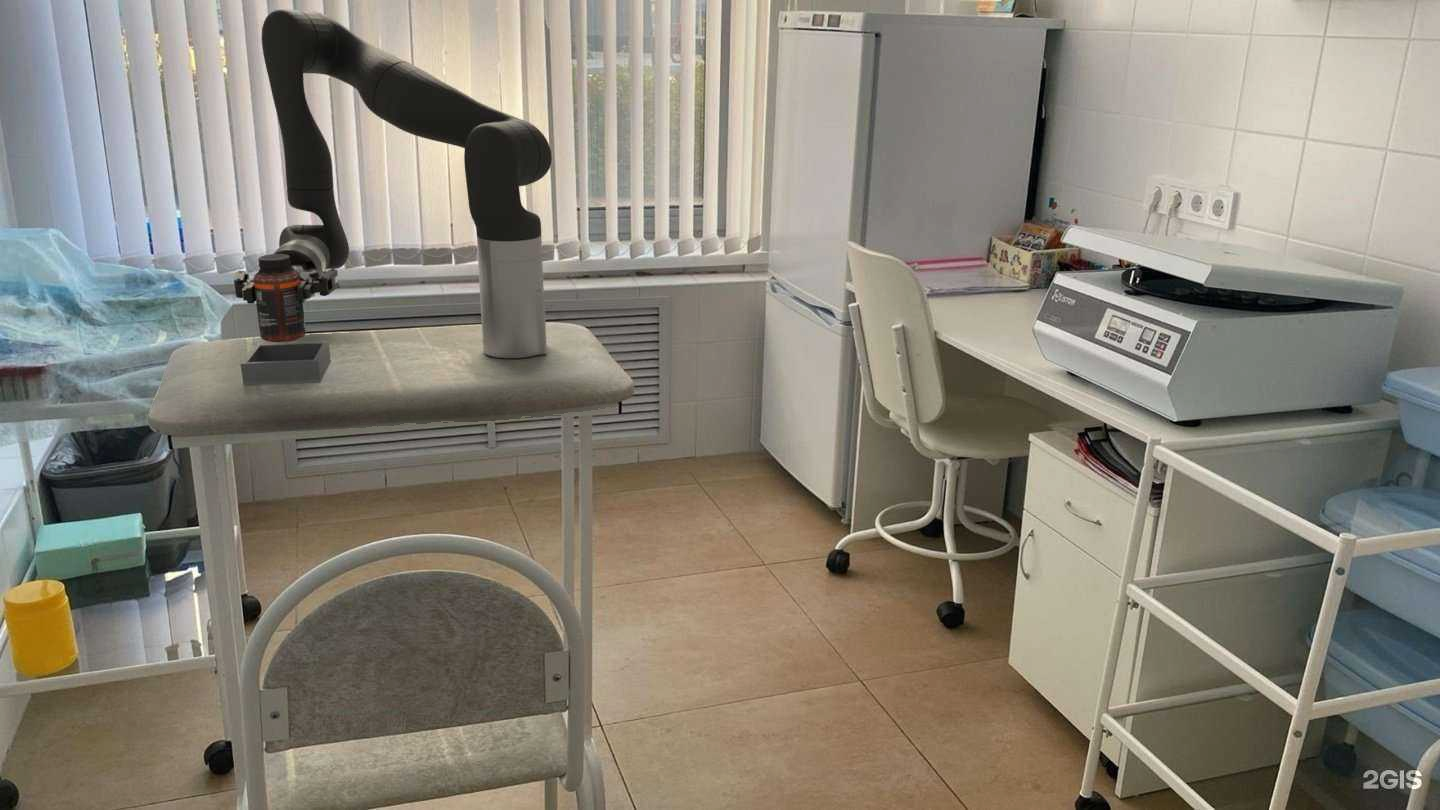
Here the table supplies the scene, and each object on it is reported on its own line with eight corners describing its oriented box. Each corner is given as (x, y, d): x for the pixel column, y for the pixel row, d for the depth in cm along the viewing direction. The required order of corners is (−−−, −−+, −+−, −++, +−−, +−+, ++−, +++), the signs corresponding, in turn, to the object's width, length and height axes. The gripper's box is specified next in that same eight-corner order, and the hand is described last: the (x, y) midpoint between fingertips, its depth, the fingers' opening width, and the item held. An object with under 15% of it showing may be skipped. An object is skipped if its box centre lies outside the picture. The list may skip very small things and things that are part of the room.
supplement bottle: (313, 333, 159) (305, 253, 156) (294, 344, 154) (285, 262, 150) (272, 331, 160) (263, 251, 156) (252, 342, 154) (242, 260, 150)
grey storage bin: (330, 361, 164) (328, 341, 163) (320, 382, 154) (318, 360, 153) (258, 364, 162) (255, 344, 161) (243, 385, 153) (240, 363, 152)
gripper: (241, 244, 165) (214, 269, 150) (344, 242, 168) (328, 267, 152) (247, 294, 168) (221, 324, 152) (349, 292, 170) (333, 321, 155)
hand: (275, 295), depth 152 cm, fingers closed on supplement bottle, 6 cm apart
